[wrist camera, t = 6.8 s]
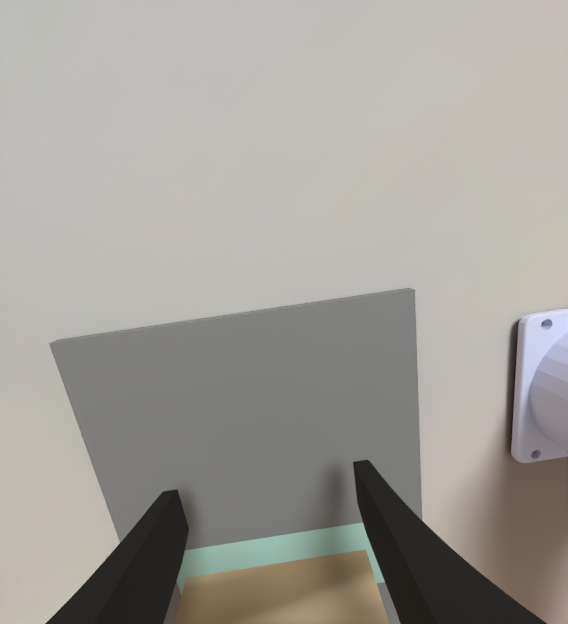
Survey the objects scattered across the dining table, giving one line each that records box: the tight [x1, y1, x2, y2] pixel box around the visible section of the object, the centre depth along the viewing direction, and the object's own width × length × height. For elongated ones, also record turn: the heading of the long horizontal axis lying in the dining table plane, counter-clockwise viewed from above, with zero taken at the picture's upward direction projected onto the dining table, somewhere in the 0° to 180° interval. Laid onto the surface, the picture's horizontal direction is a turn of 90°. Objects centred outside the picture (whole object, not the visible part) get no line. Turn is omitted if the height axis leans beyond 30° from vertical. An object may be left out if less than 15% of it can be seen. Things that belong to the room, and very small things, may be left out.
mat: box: [49, 288, 422, 624], centre depth 14 cm, size 16×24×1 cm, turn 8°
